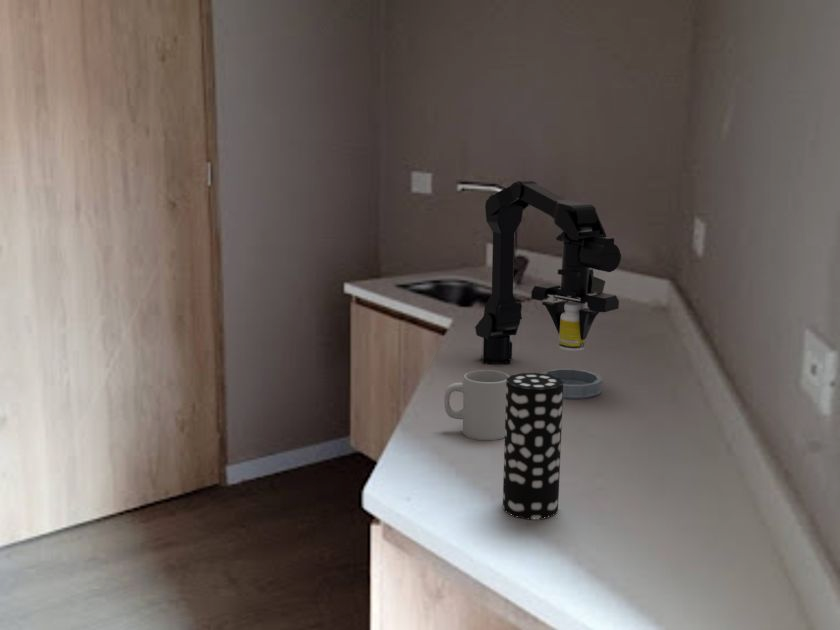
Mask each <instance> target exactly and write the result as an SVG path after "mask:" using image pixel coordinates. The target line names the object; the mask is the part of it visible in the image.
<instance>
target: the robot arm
mask: <svg viewBox="0 0 840 630" xmlns="http://www.w3.org/2000/svg"><path fill="white" fill-rule="evenodd" d="M530 206H531V207H532V208H535V209H537V210H539V211H540V212H542V213H543V214H546V215H547V216H550V218H552V219H553V222H554V225H555V226H557V228H559V229H560V230H562V231H561V233H560V234H559V235H557V236H556V237H555V239H556V241H558V242H562V256H561V257H562V258H561V268H559V269H557V275H561V276H560V278H561V279H560V285H559V284H552V283H541V284H537V285H534V286H533V287H532V289H531V294H530V295H531V296H530V299H532V300H535V301H540V302H541V301H542V303H541V305H542V306H545V308H546V310H547V311H548V314H549V315H550V317H551V320H552V322H553V324H554V326H555V329H556V330H557V331H556V332H557V333H558V335H559V334H560V317H561V314H562V313H564V312H565V310H564V305H565V303H566V302H578V303H583V304H585V305H584V307H583V309H580V310H579V321H580V335H581V340H585V341H586V340H587V336H588V334H589V332H590V329H591V327H592V325H593V323H594V321H595V319H596V317H597V315H598V314H599V313H607V312H611V311H614V310H618V309H619V307H620V306H619V305H620V300H619V298H618V296H617V295H616V294H611V293H610V294H609V293H603V292H604V288H605V285H606V280H603V279H602V278H600V277H597V276H594V272H595V271H594V270H598V271H602V272H606V273H612V272H615V270H616V269H617V268H618V267H619V266H620V263H621V260H622V254H621V250H620V248H619V247H618V245H616V243H615V238H614V237H607V234H606V232H605V228H604V227H603V223H602V222H601V220H600V217H599V215H598V212H597V208H596V207H595V206H594V205H593V204H592V203H588V202H583V201H577V200H569V199H566V198H564V197H562V196H560V195H558V194H557V193H555V192H553V191H550V190H548V189H547V188H545V187H543V186H541V185H539V184H537V182H536V181H533V180H516V181H515V182H513V183H512V184H511V185H509V186H508V187H506V188H504V189H502V190H500V191H498V192H496V193H495V194H492V195H490V196H489V197H488V198H487V199H486V201H485V207H484V208H485V209H484V211H485V219H486V223H487V224H488V226H489V228H490V230H491V232H492V267H491V270H492V271H491V273H492V274H491V294H490V296H489V297H488V300H487V301H486V303H485V304H484V310H483V316H482V318H481V319H480V320H479V321H478V322H477V324H476V325H475V326H474V329H475V333H476V336H478V337H480V338H482V345H481V346H482V348H481V349H482V350H481V351H482V352H481V353H482V354H481V355H480V356H481V361H482V363H483V364H511V360H512V359H513V342H512V340H511V336H516V335H517V333H518V330H519V327H520V324H521V321H522V319H523V317H522V307H523V306H522V305H523V304H522V302H520V301H517V299H516V297H515V294H514V276H515V275H514V270H515V269H514V268H515V265H514V264H515V234H516V232H517V230H518V228H519V226H520V224H521V223H522V221H523V215H524V214H523V213H524V211H525V210H526V209H528V208H529V207H530Z"/></svg>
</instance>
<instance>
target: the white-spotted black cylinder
mask: <svg viewBox="0 0 840 630" xmlns="http://www.w3.org/2000/svg"><path fill="white" fill-rule="evenodd" d="M542 373H543V372H538V373H537V372H521V373H516V374H512V375H509V377H508V378H507V380H506V411H505V437H504V444H503V445H504V447H503V449H504V450H503V483H502V487H503V488H502V509H503V508H504V509H503V511H504V512H506V511H507V512H508V513H509V514H508V513H507V512H506V513H507V514H508V515H510V514H512V515H514V516H513V517H515V516H518V517H524V518H529V519H528V520H539V519H538V518H544V517H548V516H551V515H553V514H555V513H556V512H557V511H559V496H560V495H559V492H560V472H561V470H560V468H561V450H562V449H561V448H562V430H563V429H562V425H563V405H564V404H563V403H564V402H563V401H564V398H563V384H564V382H563V380H562V379H560V378H559V377H556V376H553V375H548V374H542ZM557 513H558V512H557ZM557 513H556V514H557ZM556 514H555V515H556ZM512 515H511V516H512ZM553 516H554V515H553ZM518 517H517V518H518ZM551 517H552V516H551ZM534 518H535V519H534Z"/></svg>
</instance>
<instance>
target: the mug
mask: <svg viewBox="0 0 840 630" xmlns="http://www.w3.org/2000/svg"><path fill="white" fill-rule="evenodd" d="M509 376H510V375H508V374H507V373H505V372H502V371H500V370H499V371H498V370H491V369H479V370H471V371H469V372H466V373H465V374H464V375H463V382H454V383H451V384H449V385H448V386H447V388H446V390H445V393H444V398H443V400H444V409H445V412H446V415H447V416H448V417H449V418H452V419H455V420H462V432H463V433H462V434H463V435H466V437H467V436H468V437H467V438H469V437H470V438H469V439H472V438H473V439H472V440H476V439H477V440H478V441H488V440H489V441H497V440H502V439H505V411H506V380H507V378H508V377H509ZM454 392H459V393H462V395H463V396H462V397H463V400H462V401H463V402H462V403H463V404H462V409H459V410H455V409H453V408H452V407H451V405H450V398H451V395H452V393H454ZM477 440H476V441H477Z"/></svg>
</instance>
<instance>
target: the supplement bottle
mask: <svg viewBox="0 0 840 630" xmlns="http://www.w3.org/2000/svg"><path fill="white" fill-rule="evenodd" d="M584 308H585V305H584V304H583V303H578V302H573V301H568V302H566V303H565V305H564V310H565V312H564V313H562V314H561V317H560V334H558V336H559V337H558V348H559V349H560V350H561V351H562V350H563V351H567V352H580V351H583V350H584V349H585V342H586V339H585V340H581V335H580V321H579V310H580V309H584Z"/></svg>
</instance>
